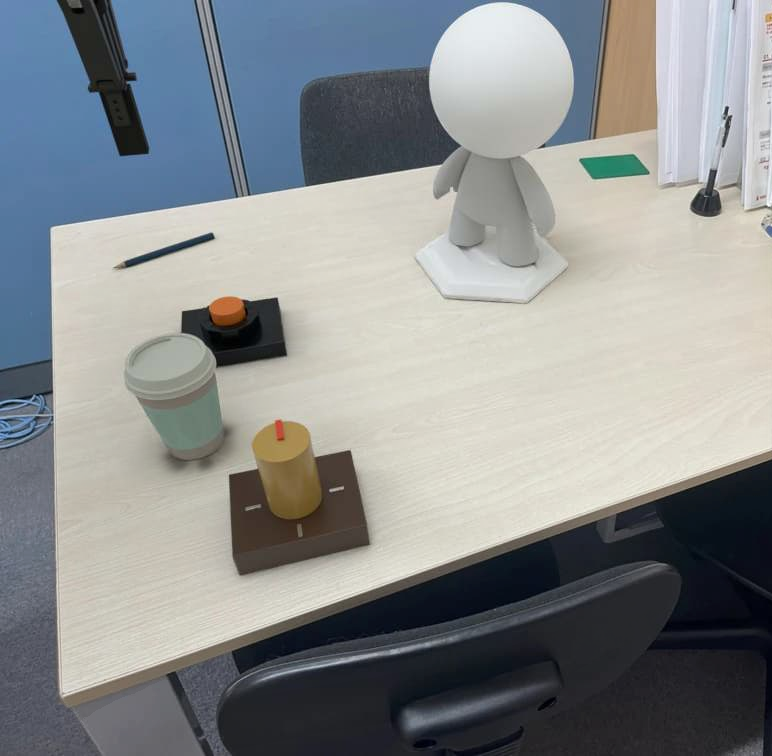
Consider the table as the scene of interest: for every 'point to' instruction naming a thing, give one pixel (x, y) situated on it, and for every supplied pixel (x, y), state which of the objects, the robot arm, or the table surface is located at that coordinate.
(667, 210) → the table surface
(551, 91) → the big headed doll
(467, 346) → the table surface
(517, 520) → the table surface
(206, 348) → the coffee cup
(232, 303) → the button
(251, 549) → the plate
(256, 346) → the button box
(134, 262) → the pencil
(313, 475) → the lock knob
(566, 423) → the table surface
